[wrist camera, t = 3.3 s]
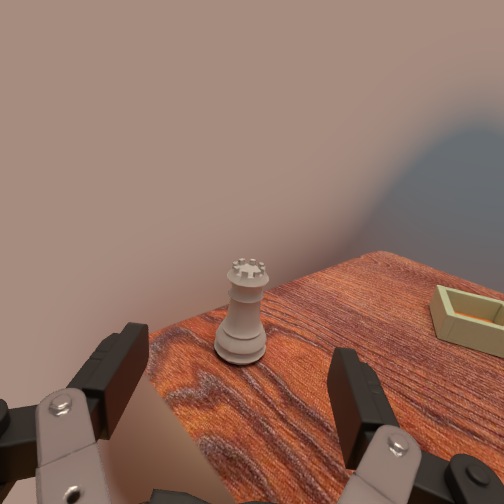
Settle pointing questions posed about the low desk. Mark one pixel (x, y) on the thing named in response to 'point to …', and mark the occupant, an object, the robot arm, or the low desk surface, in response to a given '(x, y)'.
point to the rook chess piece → (243, 315)
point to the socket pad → (468, 320)
